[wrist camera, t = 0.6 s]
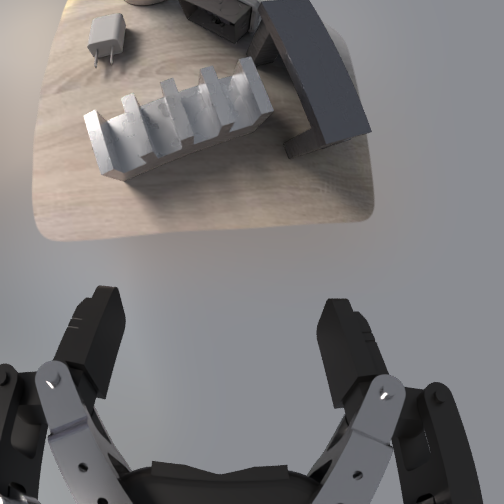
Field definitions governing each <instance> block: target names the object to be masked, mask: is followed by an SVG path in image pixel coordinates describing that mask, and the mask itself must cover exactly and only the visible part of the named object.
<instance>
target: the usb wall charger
mask: <svg viewBox="0 0 504 504" xmlns="http://www.w3.org/2000/svg"><path fill="white" fill-rule="evenodd" d="M125 28H126V24H125V21H124V18H123V15H122V14H120V13H115V14H111V15H106V16H102V17H97V18H95V19H93V21H92V25H91V30H90V35H89V40H88V46H87V47H88V49H89V51H90V52H91V54H92V55H93V57H95V63H94V66H95V68H97V62H98V58H99V57H103V56H108V55H111V58H110V63H111V65H112V63H113V55H114V54H118V53H121V52H122V51H123V44H124V36H125Z"/></svg>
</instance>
